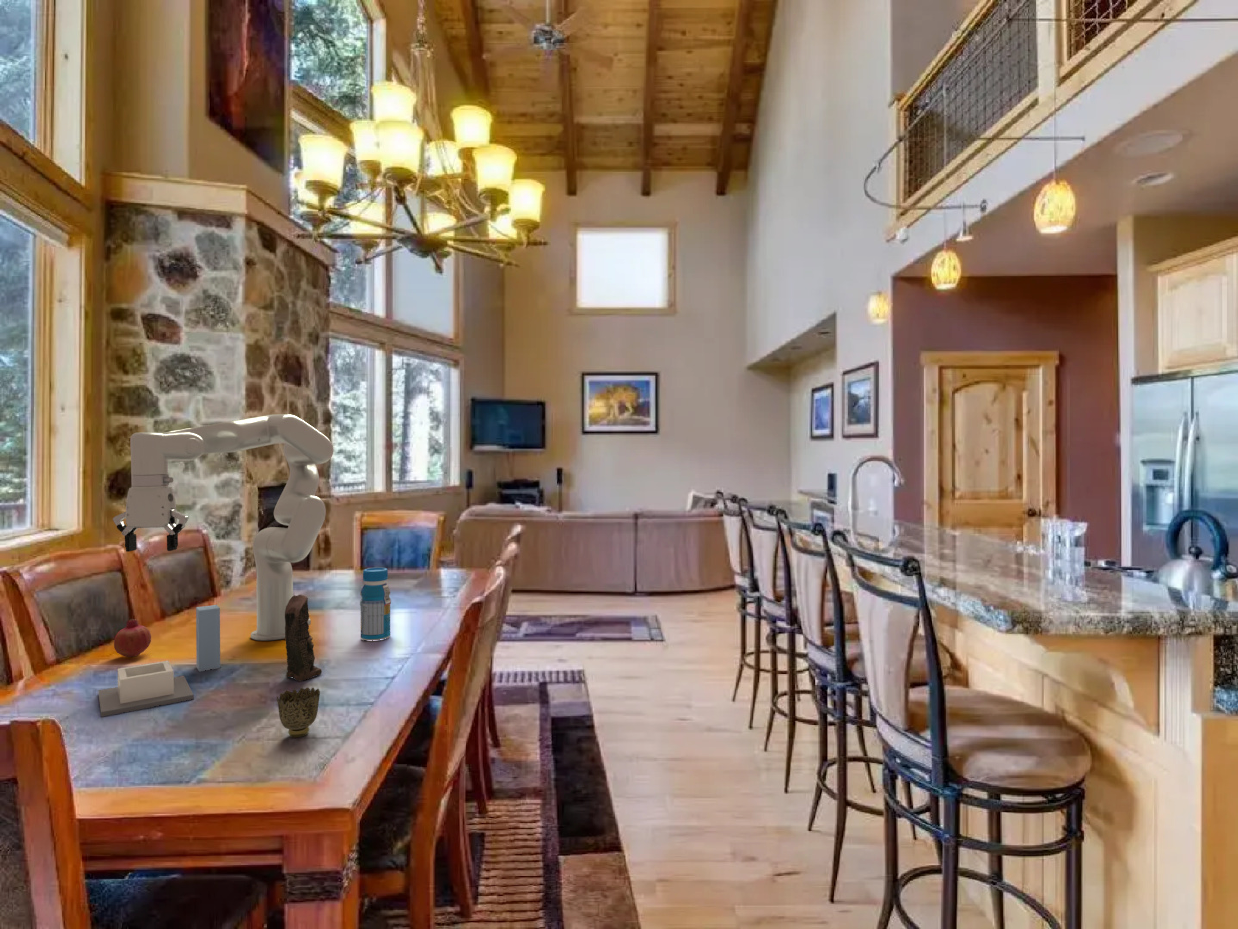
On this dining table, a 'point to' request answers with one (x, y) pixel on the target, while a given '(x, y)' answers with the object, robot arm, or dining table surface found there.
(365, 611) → the beverage bottle
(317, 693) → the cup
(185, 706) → the dining table surface
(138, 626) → the fruit
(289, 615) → the statue
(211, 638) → the post
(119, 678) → the well
